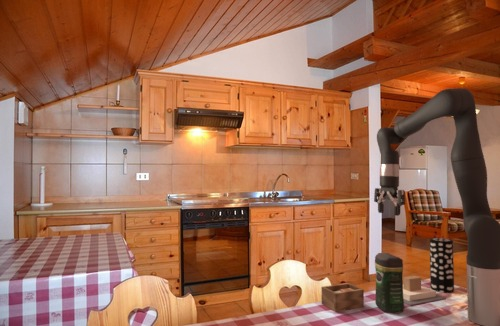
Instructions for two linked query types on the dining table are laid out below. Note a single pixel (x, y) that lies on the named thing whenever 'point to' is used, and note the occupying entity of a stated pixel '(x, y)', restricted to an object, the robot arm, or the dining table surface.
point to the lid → (415, 289)
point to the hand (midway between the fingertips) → (388, 214)
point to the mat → (424, 300)
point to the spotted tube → (441, 265)
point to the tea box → (342, 297)
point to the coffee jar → (389, 283)
